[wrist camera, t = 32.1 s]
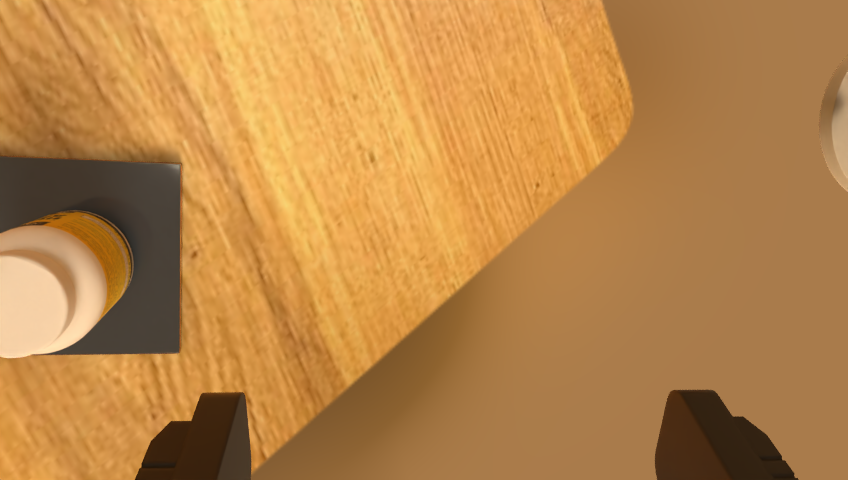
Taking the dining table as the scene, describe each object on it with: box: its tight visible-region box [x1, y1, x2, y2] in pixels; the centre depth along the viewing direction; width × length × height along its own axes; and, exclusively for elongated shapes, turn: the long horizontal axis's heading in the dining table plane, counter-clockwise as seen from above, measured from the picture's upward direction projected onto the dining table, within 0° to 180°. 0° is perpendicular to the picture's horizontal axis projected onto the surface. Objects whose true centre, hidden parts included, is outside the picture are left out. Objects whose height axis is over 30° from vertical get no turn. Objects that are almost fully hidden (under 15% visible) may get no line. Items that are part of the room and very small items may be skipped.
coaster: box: [0, 155, 182, 355], centre depth 37 cm, size 10×10×1 cm
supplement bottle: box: [0, 210, 133, 358], centre depth 32 cm, size 5×5×10 cm
